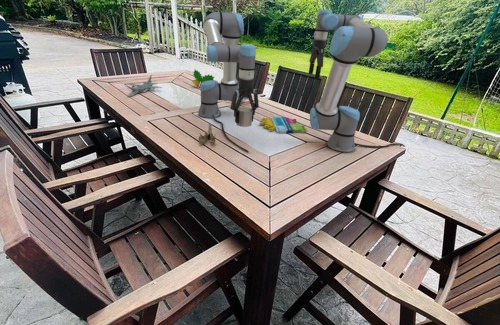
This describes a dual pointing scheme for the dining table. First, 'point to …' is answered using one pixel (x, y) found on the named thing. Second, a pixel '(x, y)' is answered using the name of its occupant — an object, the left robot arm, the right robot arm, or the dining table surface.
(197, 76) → the ornament
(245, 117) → the tin
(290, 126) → the sign
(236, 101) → the toy
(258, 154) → the dining table surface
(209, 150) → the dining table surface
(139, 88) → the airplane
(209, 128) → the jawbone
